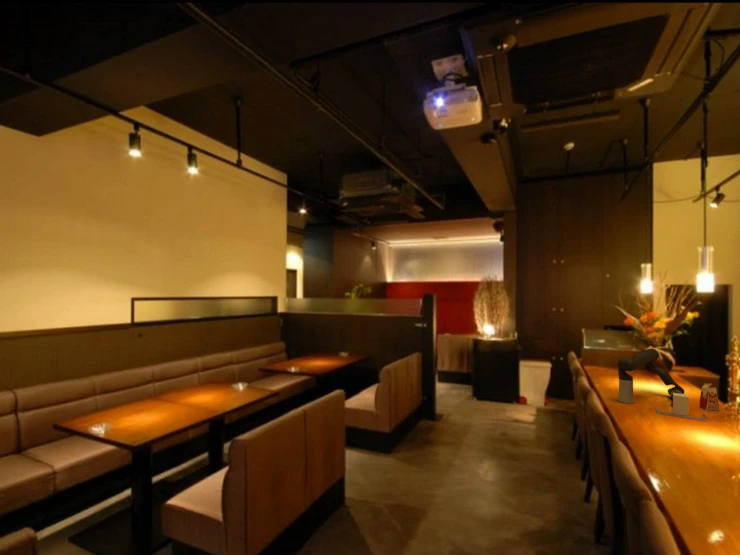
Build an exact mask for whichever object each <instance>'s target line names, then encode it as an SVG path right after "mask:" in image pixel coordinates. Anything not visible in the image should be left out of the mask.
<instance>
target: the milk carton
mask: <svg viewBox="0 0 740 555" xmlns="http://www.w3.org/2000/svg"><path fill="white" fill-rule="evenodd" d="M718 396H719V395H718V390H717V387H716V386H714V385H713V383H711V382H710V383H705V382H704V383H703V386H702V387H701V390H700V396H699V397H700V398H699V404H698V405H699V406H698V408H699V409H700V410H702V411H703V412H706V413H717V412H719V414H721V413H722V412H721V407H720V403H719V397H718Z"/></svg>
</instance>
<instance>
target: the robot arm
mask: <svg viewBox="0 0 740 555" xmlns="http://www.w3.org/2000/svg"><path fill="white" fill-rule="evenodd" d="M659 358H660V353H659V352H658V350H656V349H655V348H652V347H651V348H649V349H646V350H644V351H642V352H638V353H636V354H634V355H632V357H631V358H624V357H619V359H618V360H617V374H618V402H620V403H624V404H633V403H634V377H633V375H630V374H629V373H628V372H634V371H635V370H637V369H638V368H639V367H642V366H644V365H646V364H647V365H648V366H649V367H650V368H651V369H652V370H653V371H654V372H655V373H656V375H657V376H658V377H659V378H660V380H661V381H662V382H663V384H664V385H665V386H671V388H670V387H669V388H668V389H667V394H668V395H667V400H668V401H669V400H670V401H672V402H673V393H679V394H685V389H684V388H683V387H682V386H680V384H679V383H677V382H676V381H675V380H674V379H673V378H672V375H671V374H670V373H669V372H668V371H666V370H664V369H663V368H661V367H659V366H657V365H656V364H655V363H654V362H653V361H655V360H657V359H659Z"/></svg>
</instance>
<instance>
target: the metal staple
mask: <svg viewBox="0 0 740 555" xmlns="http://www.w3.org/2000/svg"><path fill="white" fill-rule="evenodd" d="M655 410H656V412H655V414H659V415H664V416H670V417H671V416H672V417H677V418H678V417H679V418H684V419H689V420H690V419H691V420H696V421H702V422H708V418H707V416H706V414H705V413H702V417H699V416H693V415H692V416H691V415H689V416H686V415H680V414H673V412H666V411H659V407H658V406H655Z"/></svg>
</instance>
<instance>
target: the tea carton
mask: <svg viewBox="0 0 740 555" xmlns="http://www.w3.org/2000/svg"><path fill="white" fill-rule="evenodd" d="M689 399H690V398H689V395H688V394H685V393H684V394H679V393H673V401H672V413H673V414H680V415H686V416H690V411H689V410H690V409H689V407H690V403H689V401H690V400H689Z"/></svg>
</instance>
